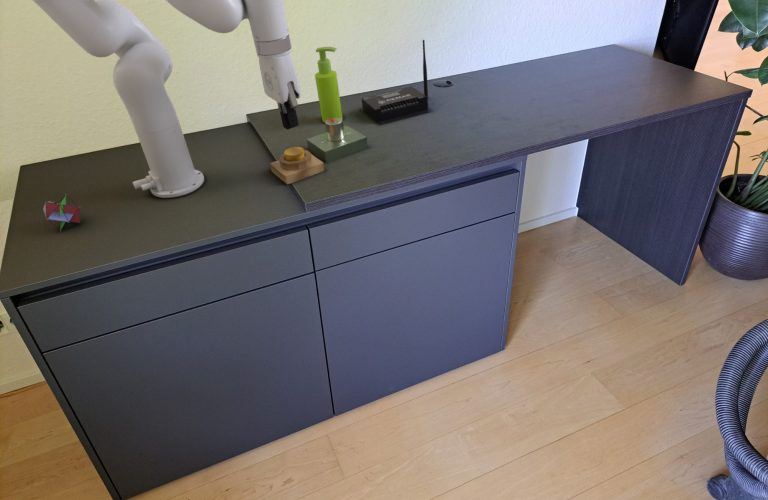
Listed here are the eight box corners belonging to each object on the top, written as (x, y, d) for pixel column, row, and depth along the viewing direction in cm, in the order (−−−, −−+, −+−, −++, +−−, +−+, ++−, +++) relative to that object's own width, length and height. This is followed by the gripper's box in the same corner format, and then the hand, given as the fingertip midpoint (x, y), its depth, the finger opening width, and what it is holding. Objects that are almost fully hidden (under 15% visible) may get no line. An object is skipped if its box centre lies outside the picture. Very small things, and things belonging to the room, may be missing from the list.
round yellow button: (290, 164, 130) (289, 157, 129) (282, 157, 133) (281, 150, 132) (308, 157, 132) (306, 151, 131) (299, 151, 135) (298, 145, 134)
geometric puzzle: (93, 205, 125) (59, 183, 121) (85, 220, 120) (49, 198, 116) (75, 225, 127) (41, 204, 123) (66, 241, 122) (30, 220, 118)
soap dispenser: (343, 123, 156) (332, 50, 145) (319, 123, 158) (307, 51, 146) (348, 114, 161) (338, 44, 149) (325, 115, 162) (314, 45, 151)
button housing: (287, 184, 130) (283, 169, 127) (271, 171, 136) (268, 156, 134) (324, 170, 134) (322, 155, 131) (307, 158, 140) (305, 143, 138)
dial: (347, 137, 141) (345, 119, 138) (332, 143, 139) (329, 125, 136) (339, 132, 144) (337, 114, 141) (324, 137, 142) (321, 119, 139)
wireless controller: (379, 125, 153) (373, 62, 143) (360, 109, 164) (353, 50, 154) (443, 108, 158) (441, 47, 149) (421, 94, 169) (418, 36, 159)
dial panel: (326, 162, 137) (324, 151, 135) (308, 149, 144) (306, 138, 142) (367, 147, 142) (366, 136, 140) (348, 135, 149) (346, 124, 147)
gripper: (243, 43, 121) (263, 122, 132) (271, 57, 111) (290, 141, 121) (274, 35, 124) (291, 113, 135) (304, 47, 114) (320, 131, 124)
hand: (291, 126), depth 128 cm, fingers closed
